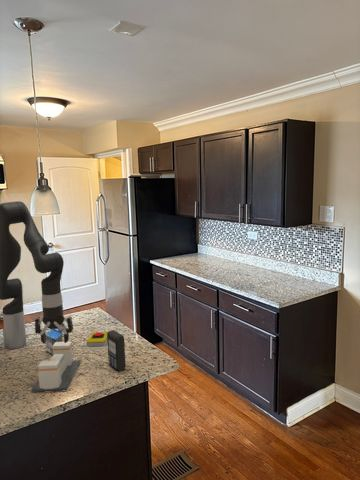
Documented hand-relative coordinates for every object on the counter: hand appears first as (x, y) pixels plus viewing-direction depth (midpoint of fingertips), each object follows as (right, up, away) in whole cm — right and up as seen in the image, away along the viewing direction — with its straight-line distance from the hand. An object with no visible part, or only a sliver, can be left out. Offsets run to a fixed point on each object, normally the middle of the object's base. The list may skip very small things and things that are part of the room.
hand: (55, 342), depth 143 cm
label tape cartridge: (-8, -12, +24) cm, 28 cm away
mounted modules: (0, -13, +2) cm, 13 cm away
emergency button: (+9, -10, +34) cm, 37 cm away
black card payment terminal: (+23, -13, +9) cm, 28 cm away
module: (0, -13, +2) cm, 13 cm away
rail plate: (0, -14, +2) cm, 15 cm away
